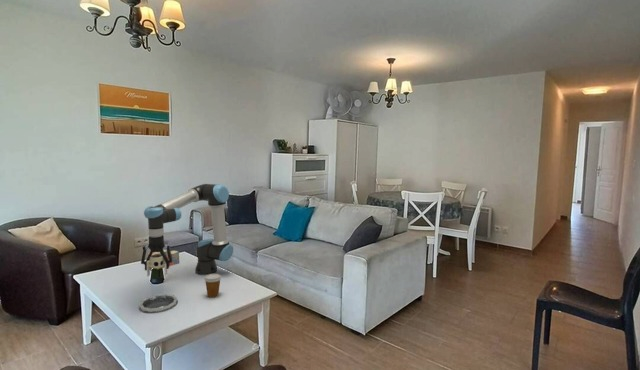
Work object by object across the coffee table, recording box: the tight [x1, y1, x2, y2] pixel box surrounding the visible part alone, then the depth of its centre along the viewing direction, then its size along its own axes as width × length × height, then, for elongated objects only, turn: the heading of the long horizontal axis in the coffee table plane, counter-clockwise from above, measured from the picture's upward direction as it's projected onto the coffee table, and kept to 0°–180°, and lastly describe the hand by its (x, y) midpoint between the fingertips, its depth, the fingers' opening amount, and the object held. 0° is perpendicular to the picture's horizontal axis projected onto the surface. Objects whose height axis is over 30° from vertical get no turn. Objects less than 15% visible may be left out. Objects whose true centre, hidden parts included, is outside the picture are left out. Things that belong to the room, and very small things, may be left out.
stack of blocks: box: [147, 248, 180, 271], centre depth 254 cm, size 21×6×12 cm, turn 147°
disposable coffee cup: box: [204, 273, 222, 298], centre depth 206 cm, size 10×10×12 cm
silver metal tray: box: [138, 293, 179, 314], centre depth 192 cm, size 20×20×2 cm
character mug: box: [147, 254, 166, 280], centre depth 190 cm, size 11×7×13 cm, turn 137°
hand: (157, 274), depth 191 cm, fingers closed on character mug, 8 cm apart
